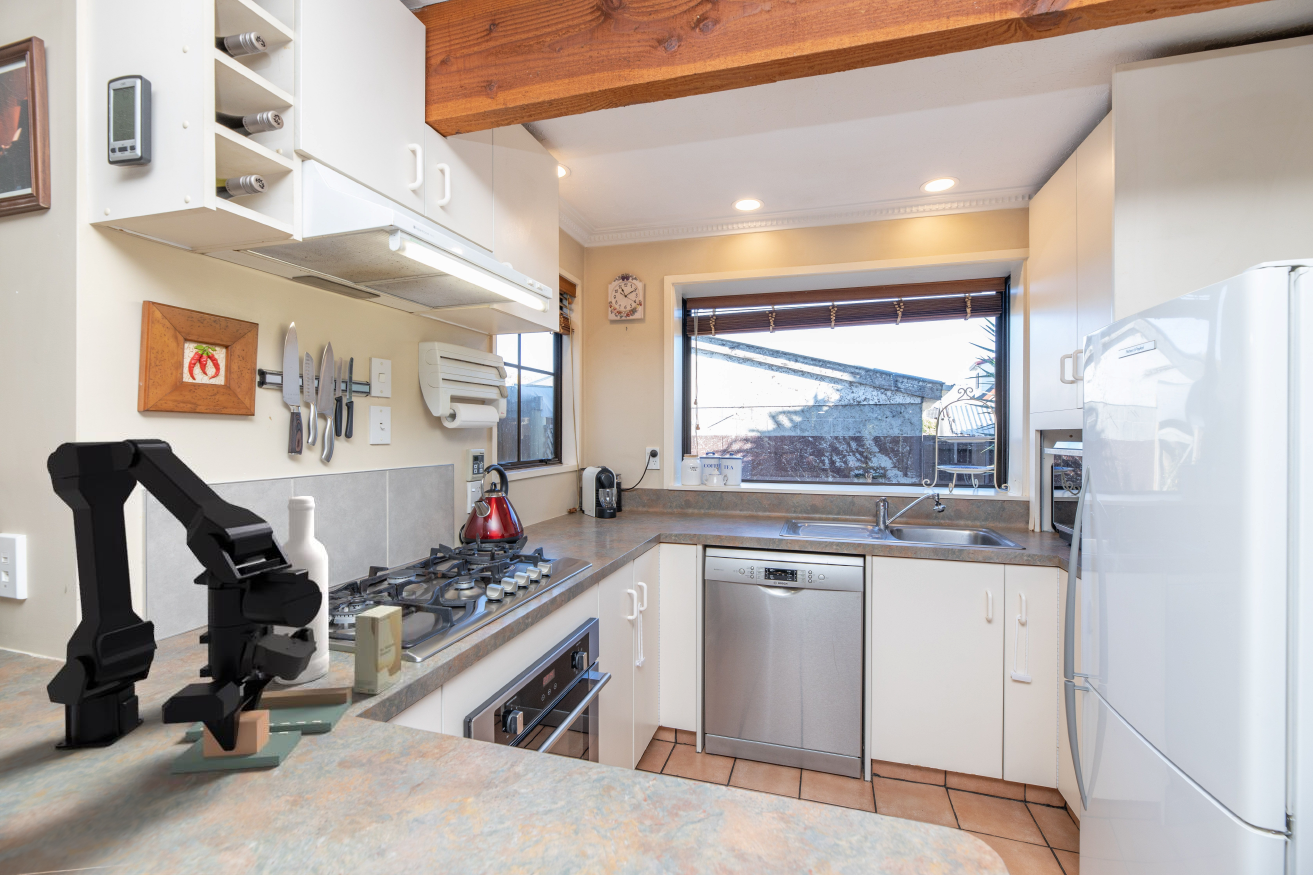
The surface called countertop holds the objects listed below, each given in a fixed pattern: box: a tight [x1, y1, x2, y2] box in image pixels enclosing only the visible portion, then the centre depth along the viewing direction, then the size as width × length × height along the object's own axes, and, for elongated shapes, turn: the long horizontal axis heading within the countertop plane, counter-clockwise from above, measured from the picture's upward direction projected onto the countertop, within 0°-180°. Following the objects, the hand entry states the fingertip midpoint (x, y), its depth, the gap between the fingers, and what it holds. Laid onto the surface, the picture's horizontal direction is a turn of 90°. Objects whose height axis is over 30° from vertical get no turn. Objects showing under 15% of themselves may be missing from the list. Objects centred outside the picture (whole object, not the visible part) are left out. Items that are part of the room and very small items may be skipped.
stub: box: [170, 710, 302, 774], centre depth 74 cm, size 12×6×5 cm, turn 99°
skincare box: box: [353, 604, 403, 695], centre depth 94 cm, size 6×4×12 cm
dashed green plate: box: [185, 686, 353, 742], centre depth 83 cm, size 18×8×3 cm, turn 99°
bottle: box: [273, 495, 330, 686], centre depth 98 cm, size 8×8×30 cm
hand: (237, 742), depth 73 cm, fingers closed on stub, 3 cm apart
